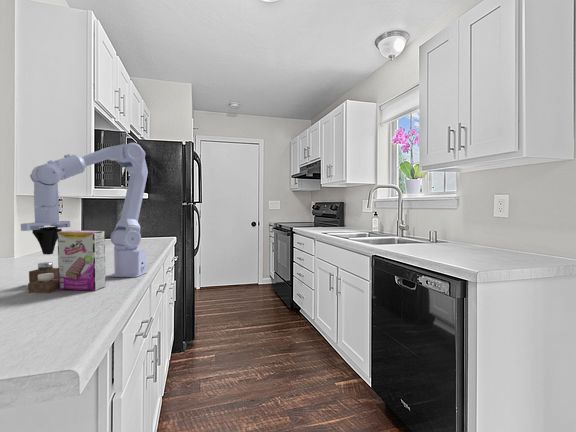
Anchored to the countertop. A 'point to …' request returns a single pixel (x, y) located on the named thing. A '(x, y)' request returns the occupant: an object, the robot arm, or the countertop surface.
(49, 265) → the steel knob
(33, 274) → the tall socket
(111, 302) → the countertop surface
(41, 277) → the cream knob
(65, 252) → the candy bar box
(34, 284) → the low socket
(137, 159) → the robot arm
